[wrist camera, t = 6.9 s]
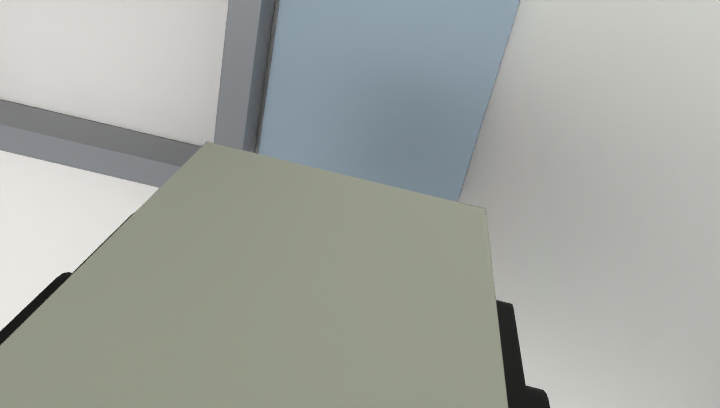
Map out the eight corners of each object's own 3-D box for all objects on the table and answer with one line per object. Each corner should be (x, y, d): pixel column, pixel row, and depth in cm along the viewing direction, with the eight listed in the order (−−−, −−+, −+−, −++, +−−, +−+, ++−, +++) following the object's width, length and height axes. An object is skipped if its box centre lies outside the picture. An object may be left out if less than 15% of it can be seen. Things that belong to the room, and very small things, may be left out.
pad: (520, -10, 24) (522, -8, 23) (456, 196, 28) (457, 202, 28) (291, -63, 24) (288, -62, 24) (261, 150, 28) (258, 155, 28)
